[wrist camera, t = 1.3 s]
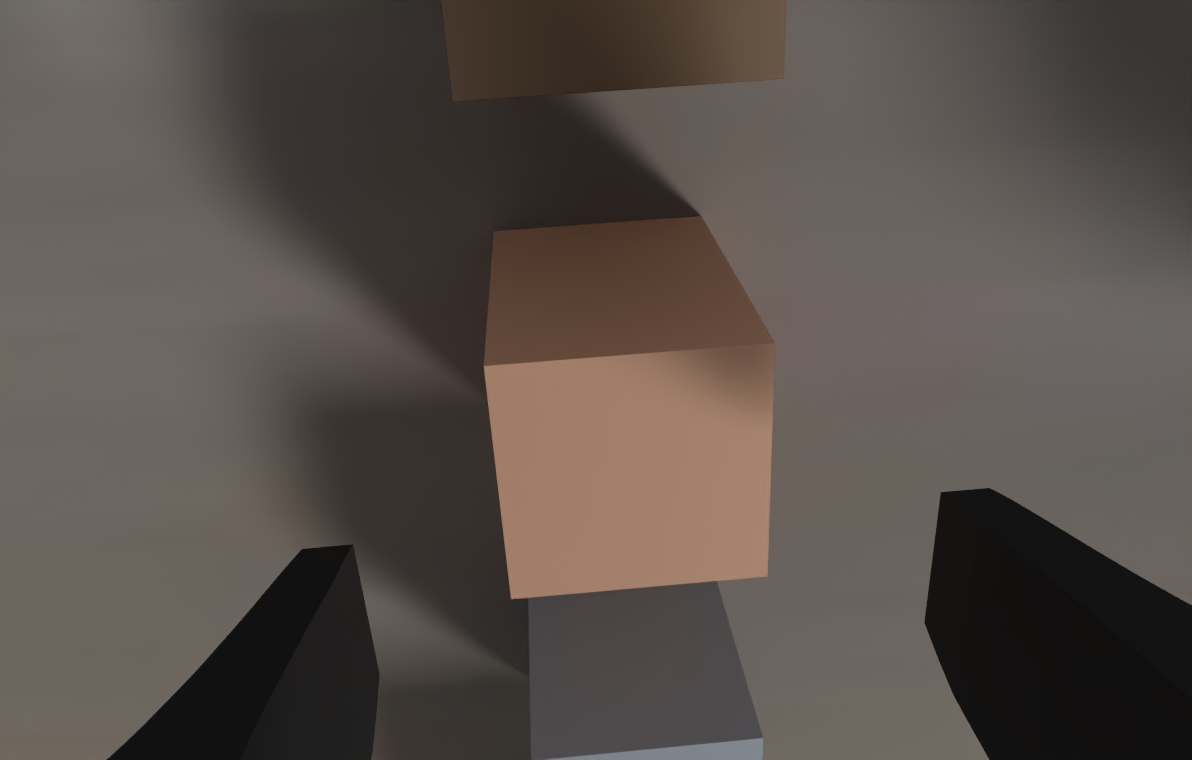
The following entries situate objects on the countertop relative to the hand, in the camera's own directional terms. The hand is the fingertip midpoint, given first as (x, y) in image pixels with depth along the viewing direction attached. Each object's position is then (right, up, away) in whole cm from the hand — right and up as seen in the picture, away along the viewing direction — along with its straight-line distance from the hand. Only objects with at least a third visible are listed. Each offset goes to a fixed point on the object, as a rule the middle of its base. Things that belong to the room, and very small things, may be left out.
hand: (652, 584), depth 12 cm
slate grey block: (0, -3, +11) cm, 11 cm away
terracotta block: (-1, +4, +8) cm, 8 cm away
